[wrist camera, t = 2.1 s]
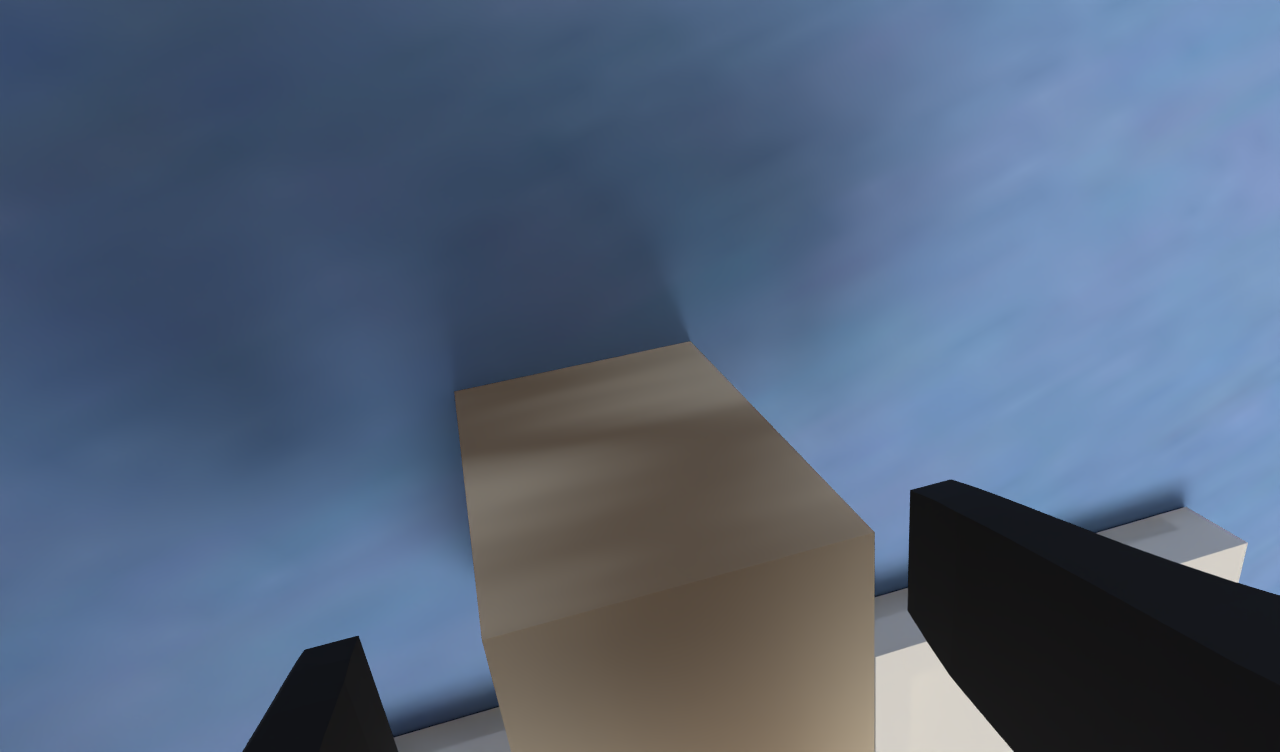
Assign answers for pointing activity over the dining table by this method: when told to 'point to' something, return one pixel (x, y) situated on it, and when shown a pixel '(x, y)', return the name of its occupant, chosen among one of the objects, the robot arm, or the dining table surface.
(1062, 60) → the dining table surface
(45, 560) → the dining table surface
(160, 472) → the dining table surface
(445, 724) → the white square tray
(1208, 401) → the dining table surface
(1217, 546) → the outer dish
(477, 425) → the maple block
